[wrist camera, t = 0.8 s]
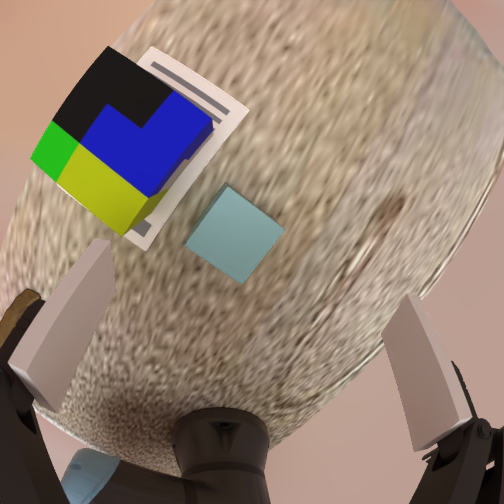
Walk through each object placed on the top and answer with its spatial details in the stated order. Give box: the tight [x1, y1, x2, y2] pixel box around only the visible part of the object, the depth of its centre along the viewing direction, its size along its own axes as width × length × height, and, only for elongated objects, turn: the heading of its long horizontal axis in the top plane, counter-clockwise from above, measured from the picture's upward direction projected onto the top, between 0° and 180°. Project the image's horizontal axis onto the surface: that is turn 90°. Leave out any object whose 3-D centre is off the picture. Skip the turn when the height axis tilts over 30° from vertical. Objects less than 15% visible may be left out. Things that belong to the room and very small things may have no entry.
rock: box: [0, 289, 40, 348], centre depth 27 cm, size 11×9×10 cm
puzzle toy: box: [30, 46, 214, 237], centre depth 21 cm, size 10×10×10 cm
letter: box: [57, 46, 250, 252], centre depth 26 cm, size 18×13×1 cm
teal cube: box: [185, 183, 285, 284], centre depth 27 cm, size 6×6×6 cm
